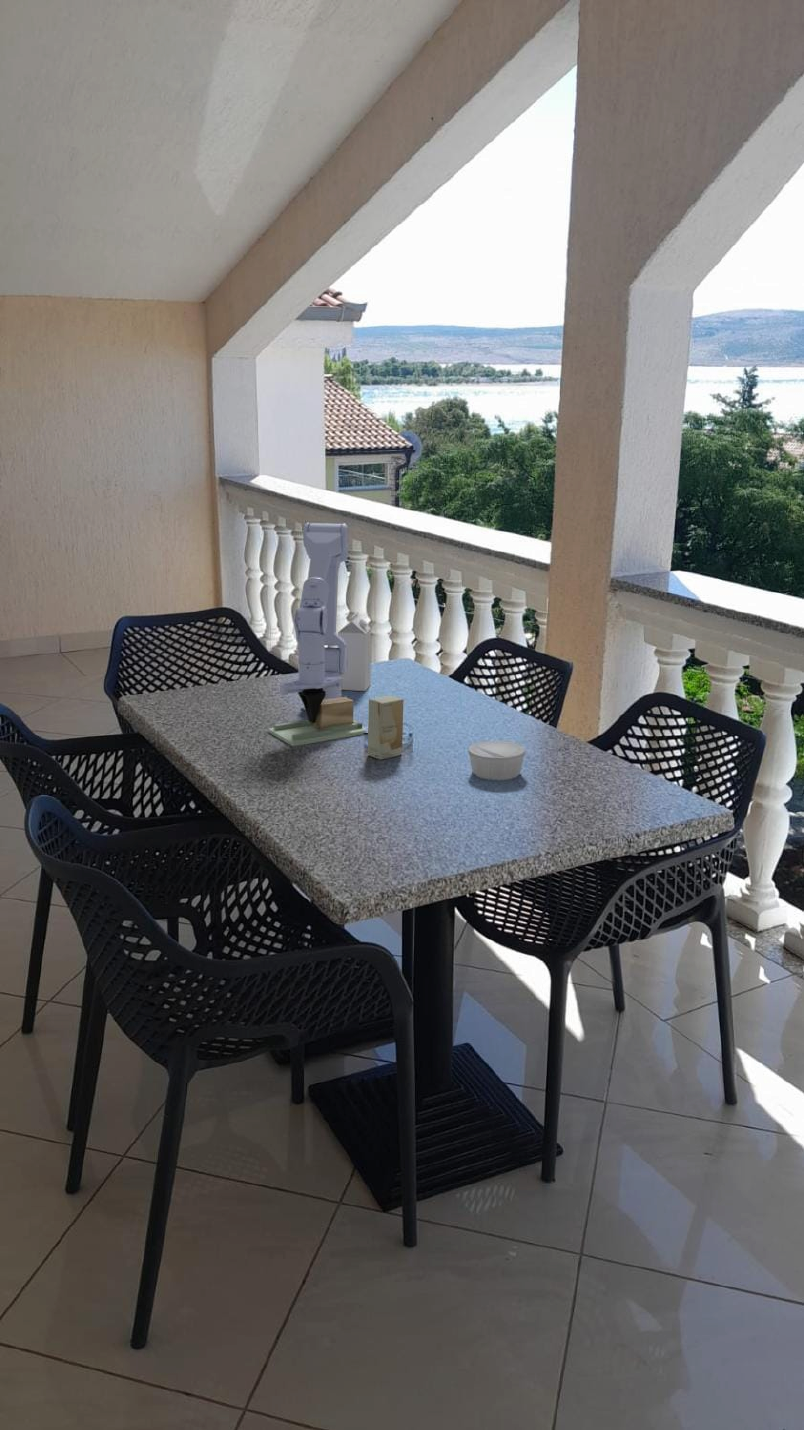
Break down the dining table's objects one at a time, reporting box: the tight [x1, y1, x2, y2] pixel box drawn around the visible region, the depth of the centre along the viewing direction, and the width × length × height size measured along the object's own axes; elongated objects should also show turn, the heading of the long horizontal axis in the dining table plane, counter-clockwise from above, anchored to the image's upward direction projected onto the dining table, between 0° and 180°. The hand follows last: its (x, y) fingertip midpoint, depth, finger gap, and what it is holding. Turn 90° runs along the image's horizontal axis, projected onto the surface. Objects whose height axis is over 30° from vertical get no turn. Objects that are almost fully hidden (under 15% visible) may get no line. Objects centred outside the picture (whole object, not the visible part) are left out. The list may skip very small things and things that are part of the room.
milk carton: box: [337, 611, 372, 692], centre depth 282 cm, size 7×7×19 cm
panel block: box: [314, 696, 354, 730], centre depth 247 cm, size 4×8×6 cm, turn 122°
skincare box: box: [367, 694, 404, 761], centre depth 230 cm, size 6×4×12 cm
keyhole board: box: [267, 718, 368, 747], centre depth 246 cm, size 12×19×2 cm, turn 122°
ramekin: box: [468, 740, 526, 782], centre depth 221 cm, size 11×11×5 cm
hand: (312, 721), depth 245 cm, fingers closed
